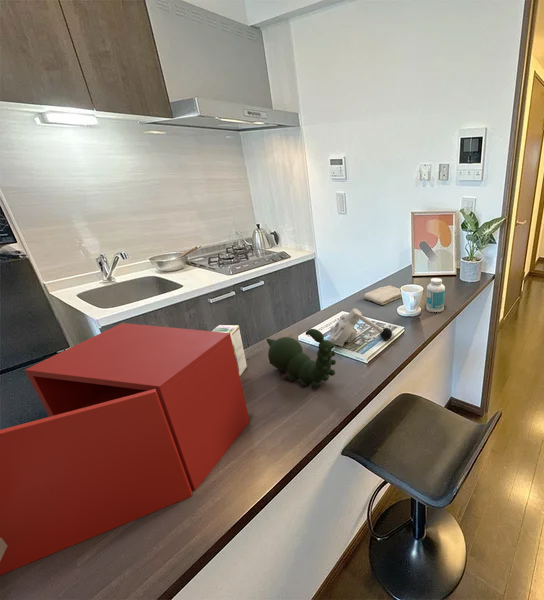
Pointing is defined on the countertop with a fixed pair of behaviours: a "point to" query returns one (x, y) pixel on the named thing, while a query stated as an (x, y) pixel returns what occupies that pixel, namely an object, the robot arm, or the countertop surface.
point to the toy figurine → (302, 359)
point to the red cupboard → (156, 384)
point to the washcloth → (383, 295)
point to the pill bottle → (435, 295)
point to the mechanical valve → (346, 328)
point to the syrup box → (235, 344)
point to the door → (84, 475)
